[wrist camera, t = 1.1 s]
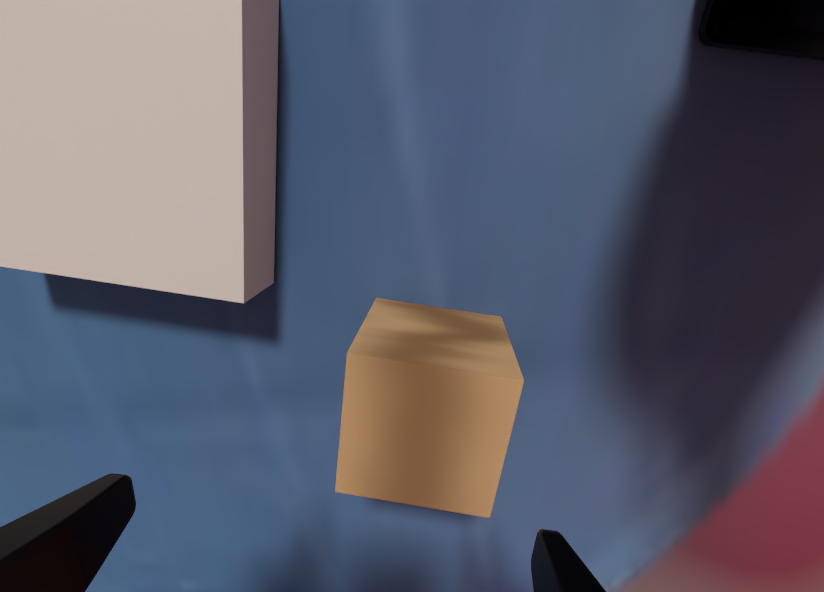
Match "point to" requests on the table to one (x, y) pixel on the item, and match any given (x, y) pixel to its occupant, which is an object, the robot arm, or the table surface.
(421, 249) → the table surface
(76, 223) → the beige square block
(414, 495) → the oak cube
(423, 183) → the table surface
